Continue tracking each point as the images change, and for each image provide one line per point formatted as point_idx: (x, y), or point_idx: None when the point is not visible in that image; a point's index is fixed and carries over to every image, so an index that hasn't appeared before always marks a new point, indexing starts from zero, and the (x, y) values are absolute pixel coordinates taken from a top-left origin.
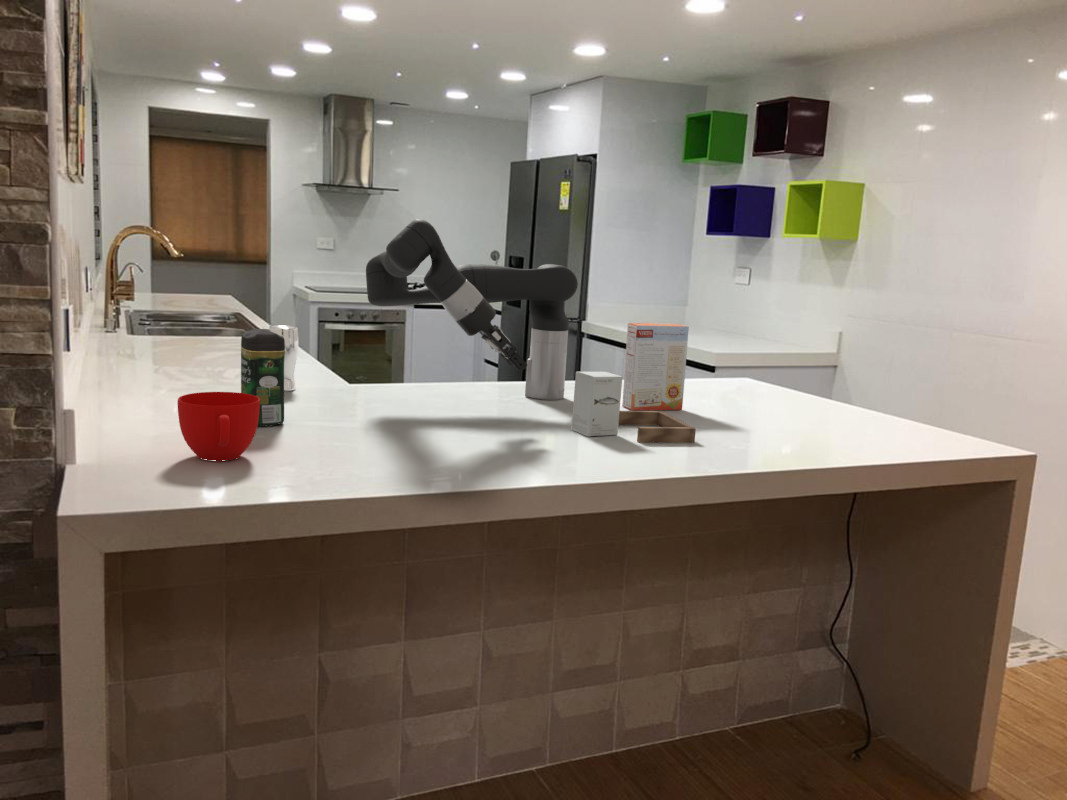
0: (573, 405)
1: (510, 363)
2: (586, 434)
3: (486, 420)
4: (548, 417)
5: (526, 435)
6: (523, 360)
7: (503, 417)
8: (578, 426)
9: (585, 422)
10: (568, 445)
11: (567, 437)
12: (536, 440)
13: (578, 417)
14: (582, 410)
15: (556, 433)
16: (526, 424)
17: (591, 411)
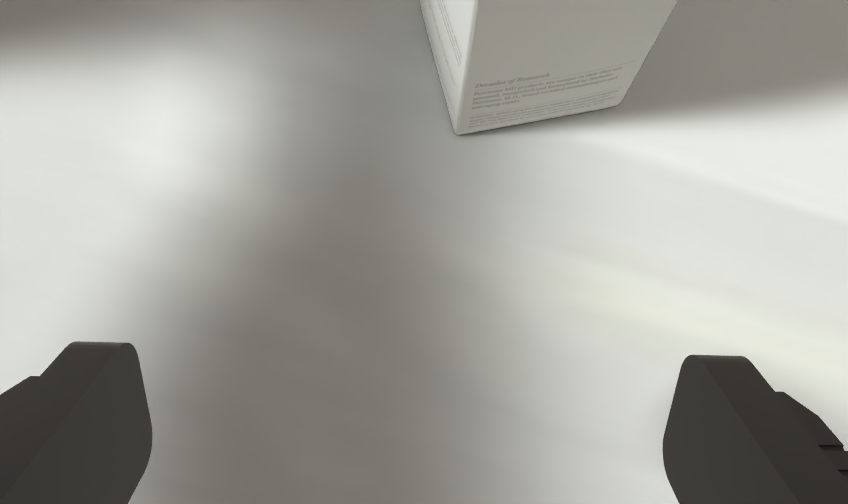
0: (471, 56)
1: (140, 453)
2: (603, 106)
3: None
4: (131, 160)
5: (611, 422)
6: (786, 413)
7: None
8: (532, 108)
9: (603, 75)
10: (821, 258)
11: (636, 209)
12: None
13: (534, 82)
14: (580, 44)
15: (545, 237)
16: (313, 339)
17: (667, 16)
